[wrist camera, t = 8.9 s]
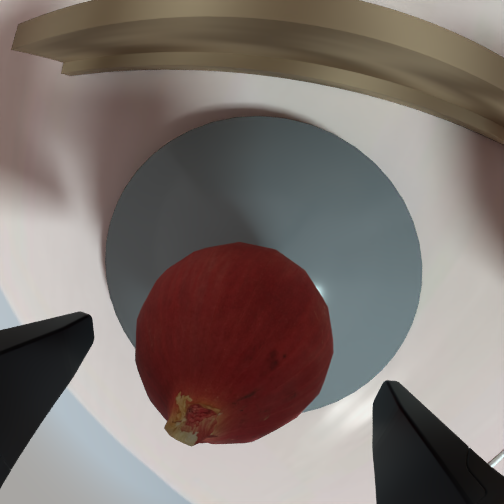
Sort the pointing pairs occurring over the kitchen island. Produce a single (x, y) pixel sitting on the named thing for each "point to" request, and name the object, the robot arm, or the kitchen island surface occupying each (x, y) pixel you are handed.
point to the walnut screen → (283, 49)
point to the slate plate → (277, 230)
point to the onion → (232, 344)
